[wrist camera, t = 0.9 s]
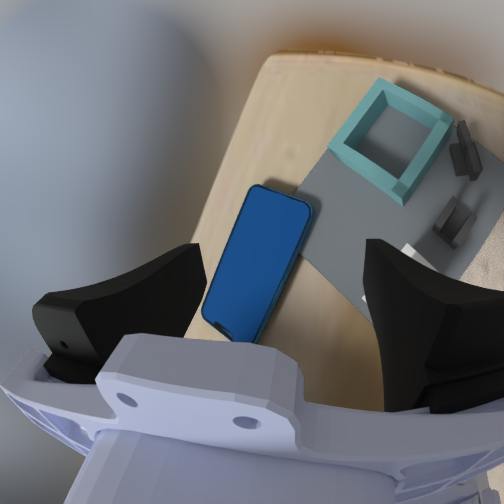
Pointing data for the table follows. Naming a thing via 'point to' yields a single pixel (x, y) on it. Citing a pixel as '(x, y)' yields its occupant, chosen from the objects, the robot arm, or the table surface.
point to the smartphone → (256, 262)
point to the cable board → (399, 190)
